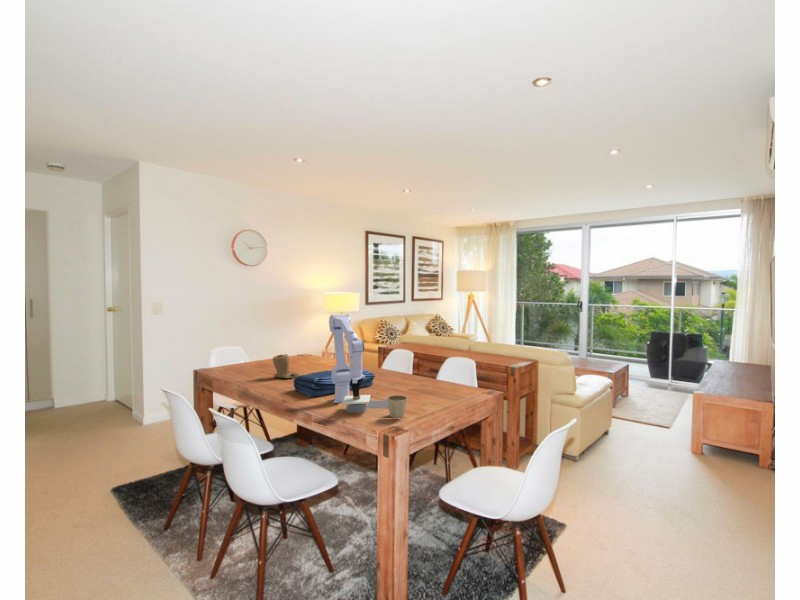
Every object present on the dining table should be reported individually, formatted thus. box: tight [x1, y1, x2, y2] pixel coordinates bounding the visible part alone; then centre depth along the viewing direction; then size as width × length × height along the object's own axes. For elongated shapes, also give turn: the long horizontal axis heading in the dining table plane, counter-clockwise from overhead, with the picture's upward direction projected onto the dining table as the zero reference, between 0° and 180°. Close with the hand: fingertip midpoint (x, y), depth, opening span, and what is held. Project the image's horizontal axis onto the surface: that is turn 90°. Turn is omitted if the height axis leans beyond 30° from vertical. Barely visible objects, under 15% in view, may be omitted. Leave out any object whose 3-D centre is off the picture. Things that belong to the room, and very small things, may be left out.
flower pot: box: [386, 394, 408, 420], centre depth 189 cm, size 9×9×9 cm
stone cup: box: [272, 353, 300, 379], centre depth 269 cm, size 15×12×15 cm
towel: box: [293, 368, 376, 398], centre depth 243 cm, size 24×43×10 cm, turn 133°
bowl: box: [345, 404, 367, 414], centre depth 197 cm, size 9×9×4 cm
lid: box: [341, 388, 371, 405], centre depth 197 cm, size 12×12×5 cm
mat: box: [366, 400, 389, 409], centre depth 207 cm, size 13×13×1 cm
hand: (356, 395), depth 197 cm, fingers closed on lid, 3 cm apart
